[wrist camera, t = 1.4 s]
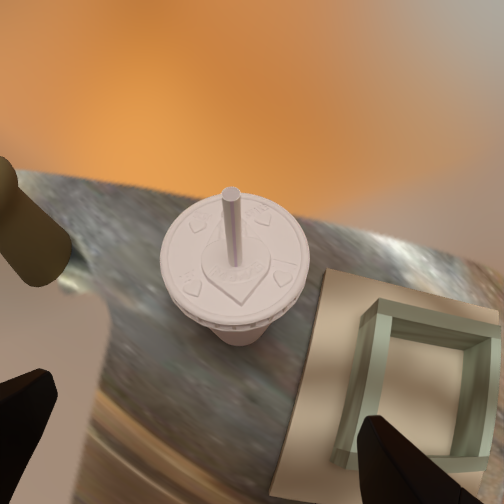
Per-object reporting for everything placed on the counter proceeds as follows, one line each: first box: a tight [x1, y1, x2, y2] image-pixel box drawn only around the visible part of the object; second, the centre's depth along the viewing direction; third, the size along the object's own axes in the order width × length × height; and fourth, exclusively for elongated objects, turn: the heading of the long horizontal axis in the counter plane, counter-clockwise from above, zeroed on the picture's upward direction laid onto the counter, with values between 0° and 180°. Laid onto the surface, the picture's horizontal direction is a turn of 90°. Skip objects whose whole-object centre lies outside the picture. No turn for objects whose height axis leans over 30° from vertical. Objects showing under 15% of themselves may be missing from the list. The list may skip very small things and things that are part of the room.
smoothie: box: [160, 187, 310, 346], centre depth 16 cm, size 6×6×14 cm
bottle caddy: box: [268, 268, 501, 504], centre depth 17 cm, size 16×16×4 cm
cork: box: [0, 156, 71, 287], centre depth 19 cm, size 6×6×11 cm
